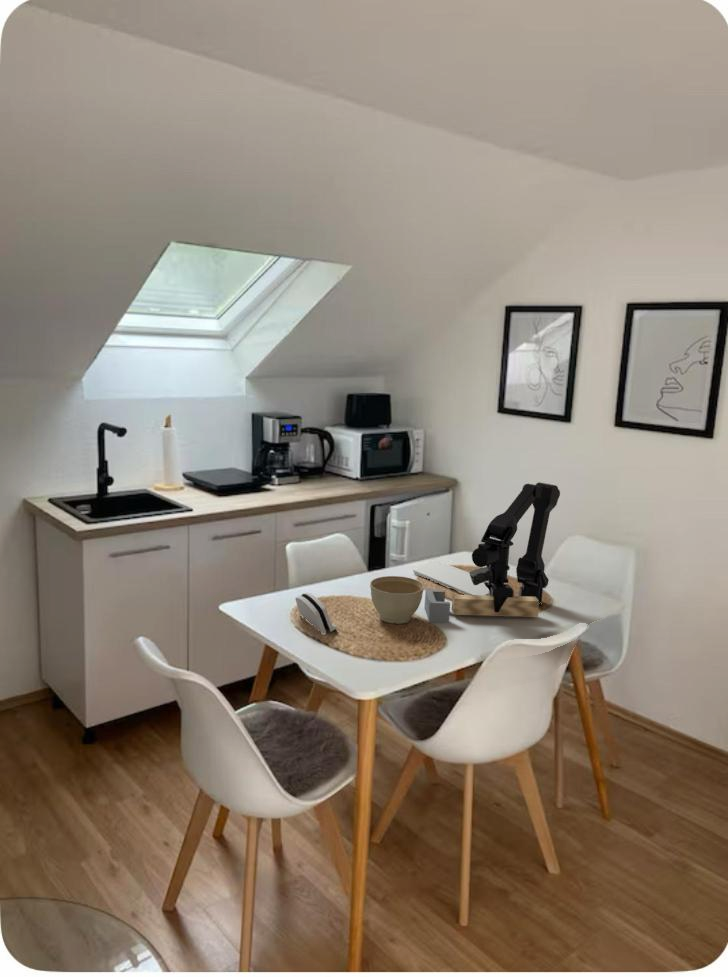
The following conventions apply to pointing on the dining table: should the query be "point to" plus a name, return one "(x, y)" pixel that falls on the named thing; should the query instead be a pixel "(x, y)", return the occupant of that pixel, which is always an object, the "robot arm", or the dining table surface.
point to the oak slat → (486, 605)
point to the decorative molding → (450, 577)
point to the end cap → (436, 606)
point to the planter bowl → (396, 597)
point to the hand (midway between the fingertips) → (494, 609)
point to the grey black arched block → (314, 612)
